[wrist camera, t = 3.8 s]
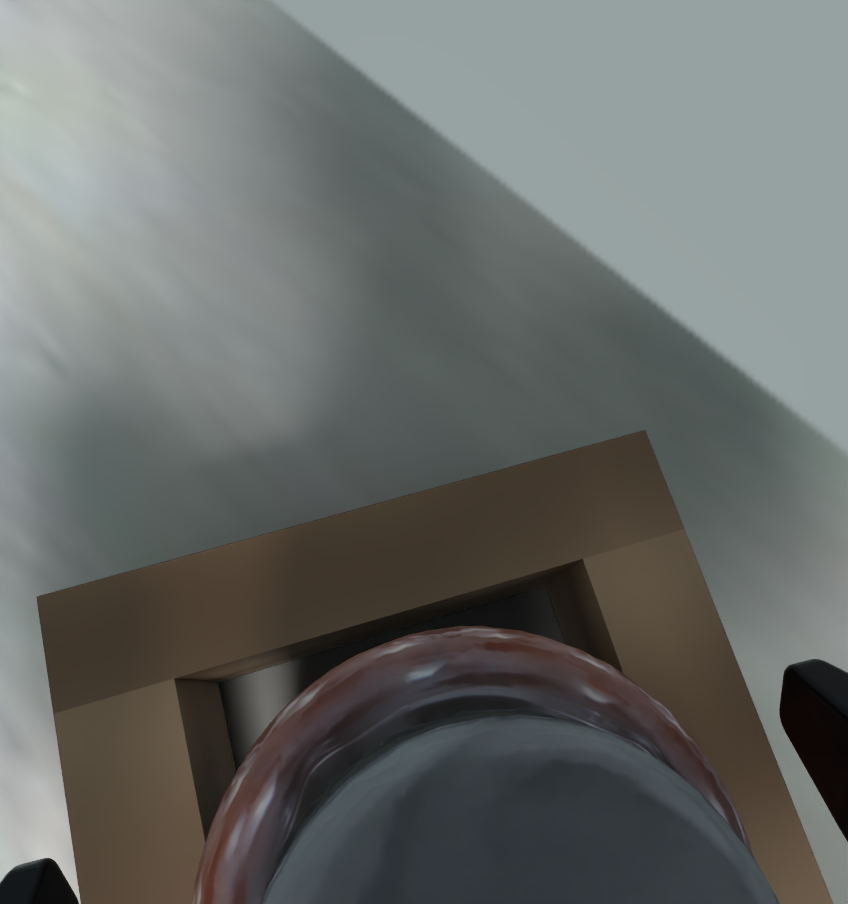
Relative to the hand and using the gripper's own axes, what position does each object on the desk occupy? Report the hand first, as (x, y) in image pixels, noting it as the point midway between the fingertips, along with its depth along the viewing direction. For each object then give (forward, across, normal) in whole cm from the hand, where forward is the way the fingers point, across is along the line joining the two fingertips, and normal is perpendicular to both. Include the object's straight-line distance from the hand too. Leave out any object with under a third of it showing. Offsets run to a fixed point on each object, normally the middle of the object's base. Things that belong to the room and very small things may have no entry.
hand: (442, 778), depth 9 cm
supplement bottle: (+4, 0, +6) cm, 8 cm away
